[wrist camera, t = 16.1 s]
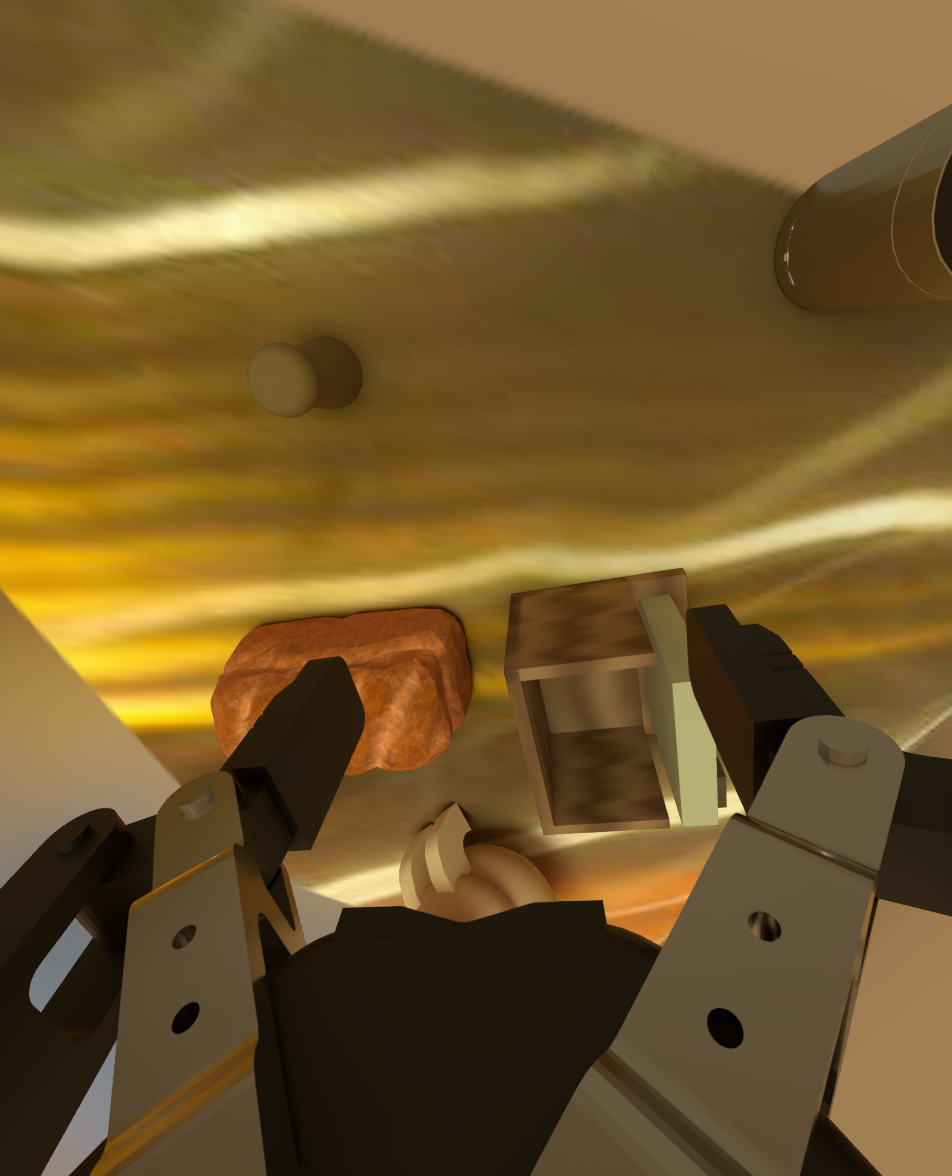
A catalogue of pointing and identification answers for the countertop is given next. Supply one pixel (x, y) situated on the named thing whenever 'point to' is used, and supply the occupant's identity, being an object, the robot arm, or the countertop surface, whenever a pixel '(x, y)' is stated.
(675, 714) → the door
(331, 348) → the cork
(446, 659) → the bread
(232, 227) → the countertop surface
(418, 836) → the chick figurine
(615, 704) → the cabinet
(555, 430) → the countertop surface
